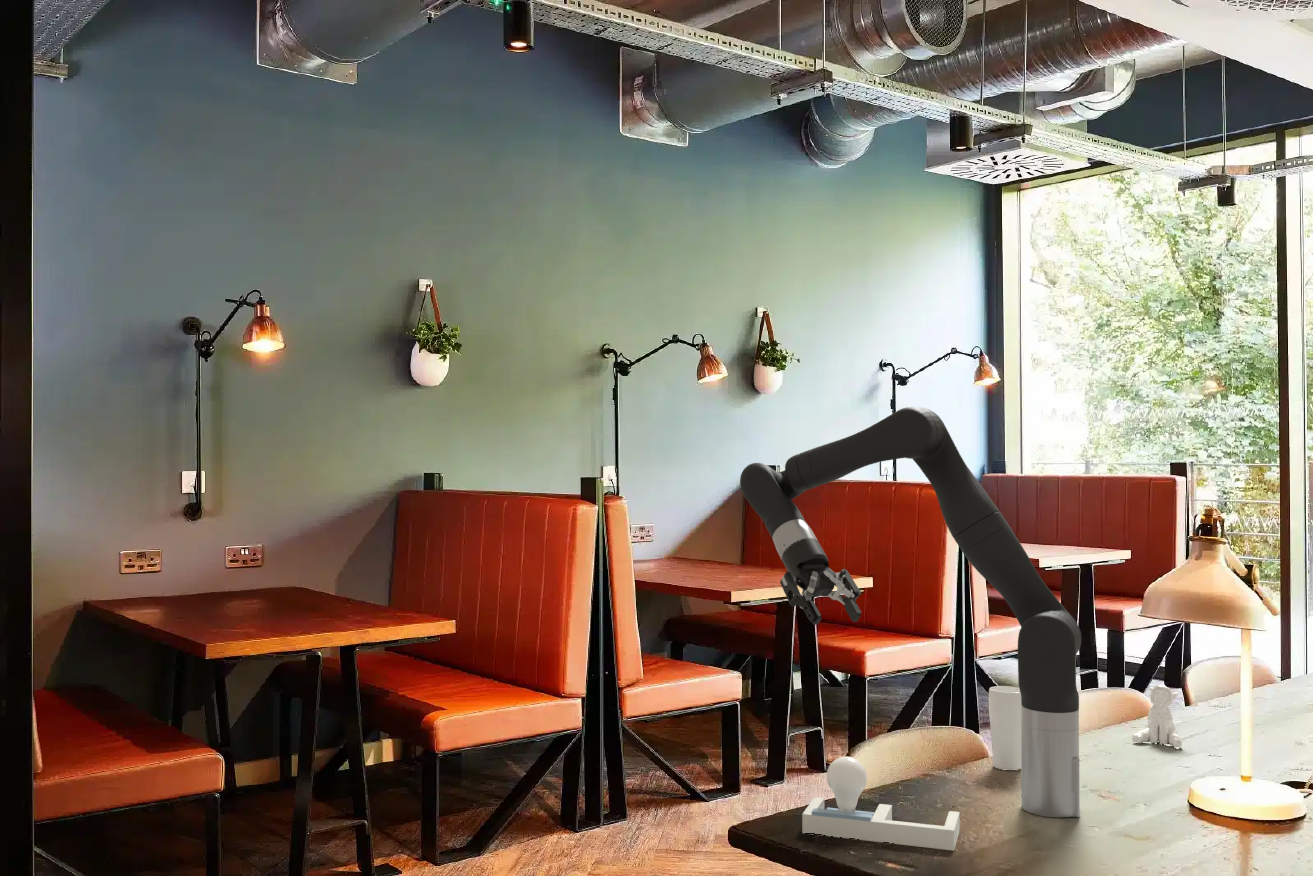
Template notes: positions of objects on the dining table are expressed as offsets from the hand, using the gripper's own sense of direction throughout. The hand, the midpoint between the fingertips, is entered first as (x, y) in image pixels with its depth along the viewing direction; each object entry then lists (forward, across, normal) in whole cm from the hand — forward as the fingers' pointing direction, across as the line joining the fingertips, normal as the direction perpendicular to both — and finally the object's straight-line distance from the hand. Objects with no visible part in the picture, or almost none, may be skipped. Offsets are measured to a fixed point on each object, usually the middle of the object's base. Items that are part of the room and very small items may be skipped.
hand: (837, 620), depth 201 cm
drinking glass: (+22, +40, +22) cm, 51 cm away
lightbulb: (+31, -8, +12) cm, 35 cm away
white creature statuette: (+22, +84, +22) cm, 89 cm away
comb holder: (+34, -4, +9) cm, 36 cm away
